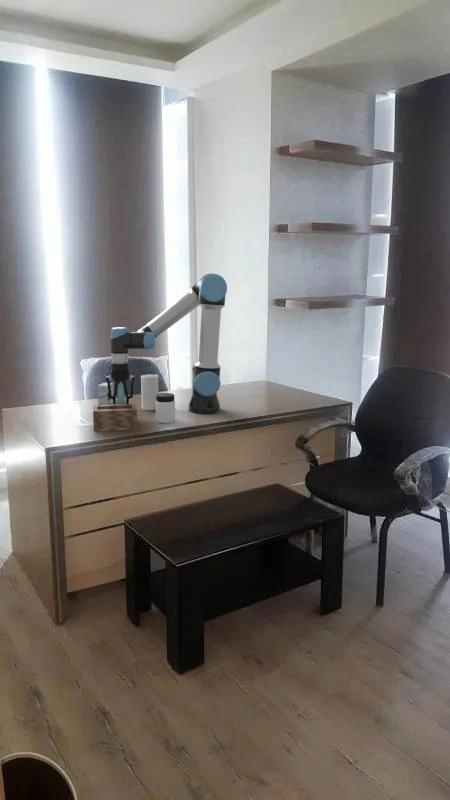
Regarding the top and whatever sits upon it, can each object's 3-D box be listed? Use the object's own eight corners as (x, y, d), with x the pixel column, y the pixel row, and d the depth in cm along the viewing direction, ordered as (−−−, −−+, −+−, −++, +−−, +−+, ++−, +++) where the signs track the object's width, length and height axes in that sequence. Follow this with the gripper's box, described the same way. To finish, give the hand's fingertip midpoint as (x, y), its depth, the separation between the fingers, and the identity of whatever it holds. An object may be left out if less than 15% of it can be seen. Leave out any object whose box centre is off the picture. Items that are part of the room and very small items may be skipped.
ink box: (107, 410, 294) (107, 385, 291) (98, 409, 294) (97, 385, 292) (114, 406, 302) (113, 382, 299) (105, 405, 303) (104, 382, 300)
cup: (161, 407, 300) (161, 375, 297) (152, 410, 293) (152, 377, 290) (147, 405, 304) (146, 373, 300) (138, 409, 296) (137, 376, 293)
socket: (135, 422, 271) (135, 403, 270) (137, 429, 260) (136, 409, 258) (93, 423, 268) (93, 404, 266) (93, 431, 256) (93, 411, 254)
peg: (126, 417, 280) (125, 382, 277) (122, 418, 277) (122, 384, 274) (119, 416, 281) (118, 382, 278) (116, 418, 278) (115, 383, 275)
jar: (166, 417, 281) (165, 391, 278) (178, 420, 276) (178, 394, 273) (151, 421, 274) (151, 394, 271) (164, 424, 269) (164, 397, 266)
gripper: (137, 360, 279) (138, 410, 284) (101, 361, 276) (102, 412, 281) (138, 363, 272) (139, 414, 277) (101, 363, 269) (103, 415, 274)
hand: (121, 413), depth 279 cm, fingers closed on peg, 3 cm apart
